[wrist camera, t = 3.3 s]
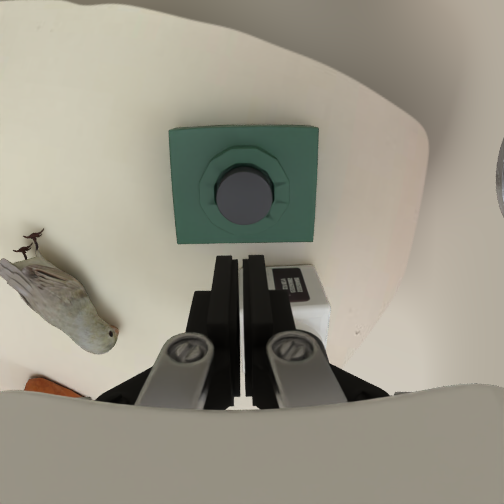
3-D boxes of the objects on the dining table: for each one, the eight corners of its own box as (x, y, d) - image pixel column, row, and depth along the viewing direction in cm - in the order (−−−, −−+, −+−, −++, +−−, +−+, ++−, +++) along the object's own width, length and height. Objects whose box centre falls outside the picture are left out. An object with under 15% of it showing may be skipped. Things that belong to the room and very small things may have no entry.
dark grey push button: (270, 166, 24) (272, 171, 22) (269, 216, 25) (272, 225, 24) (217, 167, 24) (215, 172, 22) (219, 216, 25) (217, 225, 23)
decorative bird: (107, 339, 36) (87, 381, 30) (20, 245, 31) (-15, 276, 24) (133, 322, 35) (114, 366, 28) (41, 219, 29) (2, 247, 23)
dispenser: (311, 125, 27) (324, 129, 22) (307, 229, 31) (317, 251, 26) (175, 127, 26) (162, 131, 22) (183, 231, 31) (172, 254, 26)
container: (238, 266, 32) (236, 357, 21) (314, 263, 32) (349, 349, 21) (242, 327, 36) (242, 421, 24) (310, 323, 36) (334, 413, 24)
